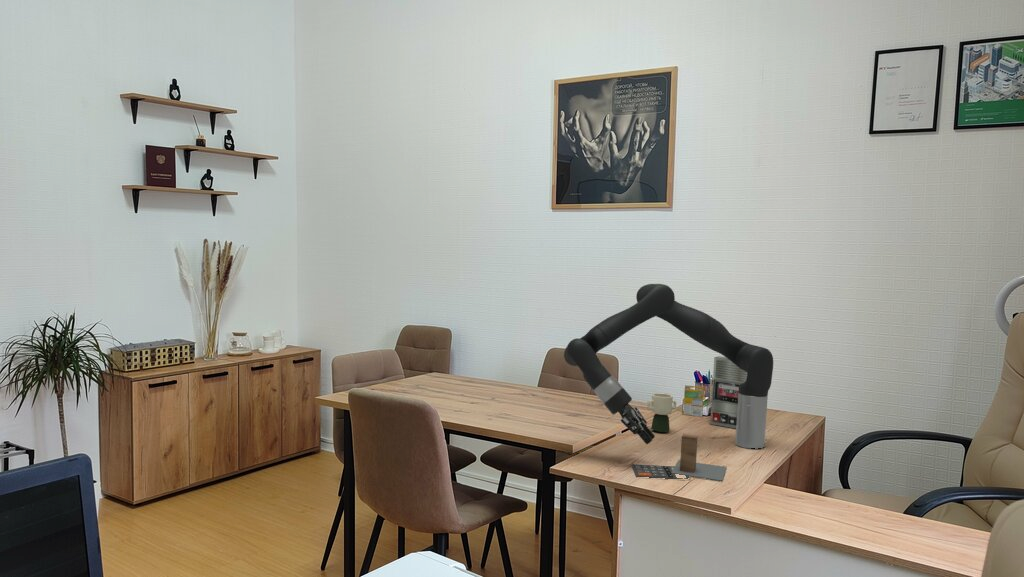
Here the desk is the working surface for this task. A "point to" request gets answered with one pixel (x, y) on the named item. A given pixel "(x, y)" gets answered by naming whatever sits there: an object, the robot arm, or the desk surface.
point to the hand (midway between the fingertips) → (651, 440)
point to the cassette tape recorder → (725, 392)
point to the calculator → (655, 471)
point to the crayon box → (693, 401)
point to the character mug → (661, 411)
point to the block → (688, 453)
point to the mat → (703, 471)
